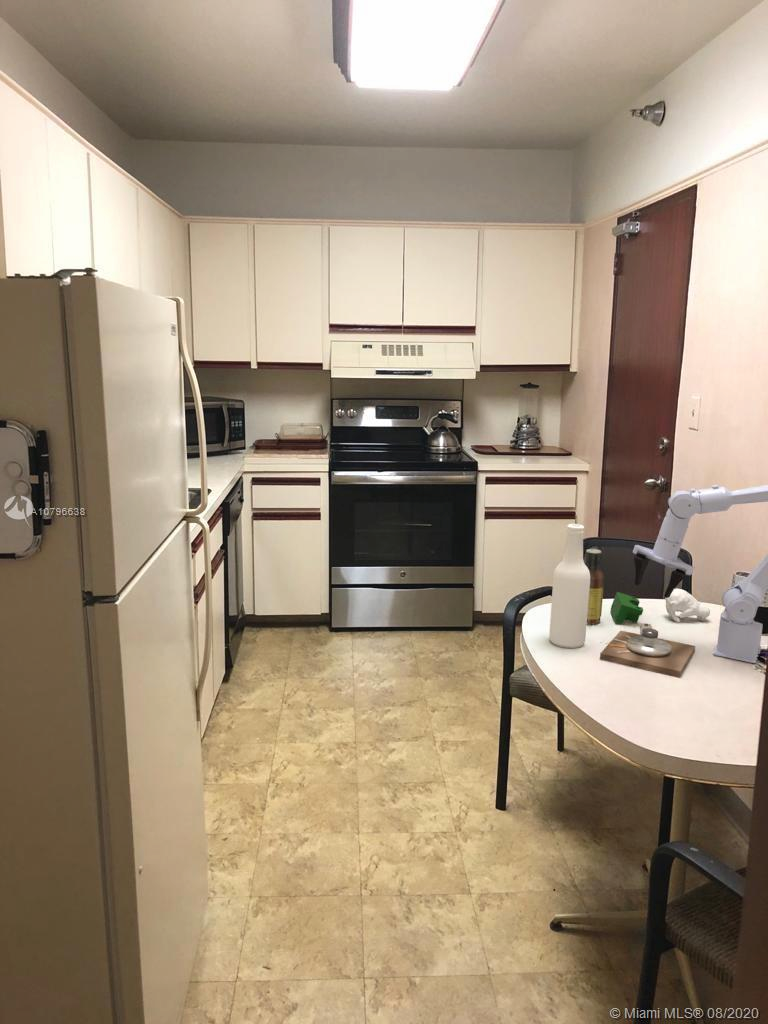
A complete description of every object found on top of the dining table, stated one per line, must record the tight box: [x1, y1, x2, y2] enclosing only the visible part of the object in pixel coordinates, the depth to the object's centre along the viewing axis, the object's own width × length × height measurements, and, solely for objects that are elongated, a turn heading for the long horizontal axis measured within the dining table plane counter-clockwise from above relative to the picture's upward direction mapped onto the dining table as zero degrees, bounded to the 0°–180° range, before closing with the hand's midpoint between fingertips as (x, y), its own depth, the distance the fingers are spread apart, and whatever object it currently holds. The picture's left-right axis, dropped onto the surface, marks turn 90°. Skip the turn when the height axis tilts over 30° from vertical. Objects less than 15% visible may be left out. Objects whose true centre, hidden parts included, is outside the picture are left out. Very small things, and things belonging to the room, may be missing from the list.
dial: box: [627, 622, 671, 657], centre depth 180 cm, size 13×10×4 cm
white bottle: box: [548, 523, 590, 649], centre depth 184 cm, size 9×9×30 cm
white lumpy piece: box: [664, 588, 711, 623], centre depth 204 cm, size 6×8×12 cm
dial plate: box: [599, 630, 696, 678], centre depth 180 cm, size 18×18×2 cm
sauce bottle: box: [584, 548, 605, 625], centre depth 200 cm, size 7×6×20 cm
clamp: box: [610, 591, 644, 625], centre depth 204 cm, size 12×6×9 cm, turn 163°
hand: (651, 590), depth 184 cm, fingers open, 7 cm apart
